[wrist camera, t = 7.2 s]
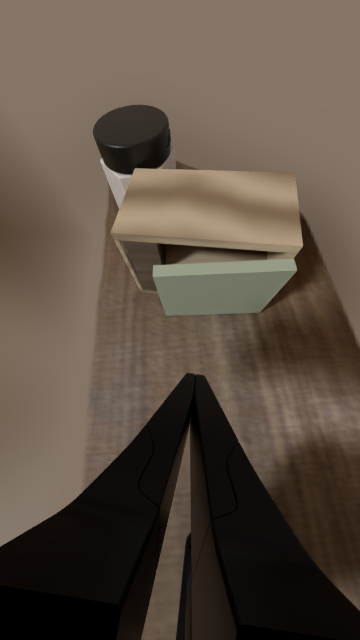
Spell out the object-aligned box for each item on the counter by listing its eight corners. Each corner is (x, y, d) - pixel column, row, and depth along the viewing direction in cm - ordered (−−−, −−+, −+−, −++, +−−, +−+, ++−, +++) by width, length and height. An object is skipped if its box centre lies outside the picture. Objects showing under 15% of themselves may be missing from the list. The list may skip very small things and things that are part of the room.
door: (259, 312, 23) (297, 270, 15) (165, 315, 24) (152, 276, 15) (258, 304, 23) (293, 258, 15) (166, 307, 24) (153, 265, 16)
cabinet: (258, 303, 24) (302, 246, 14) (140, 291, 25) (110, 232, 16) (258, 249, 27) (294, 172, 17) (153, 241, 29) (134, 168, 19)
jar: (188, 224, 29) (187, 123, 18) (148, 250, 28) (119, 158, 17) (157, 197, 32) (139, 95, 21) (118, 219, 31) (77, 122, 20)
